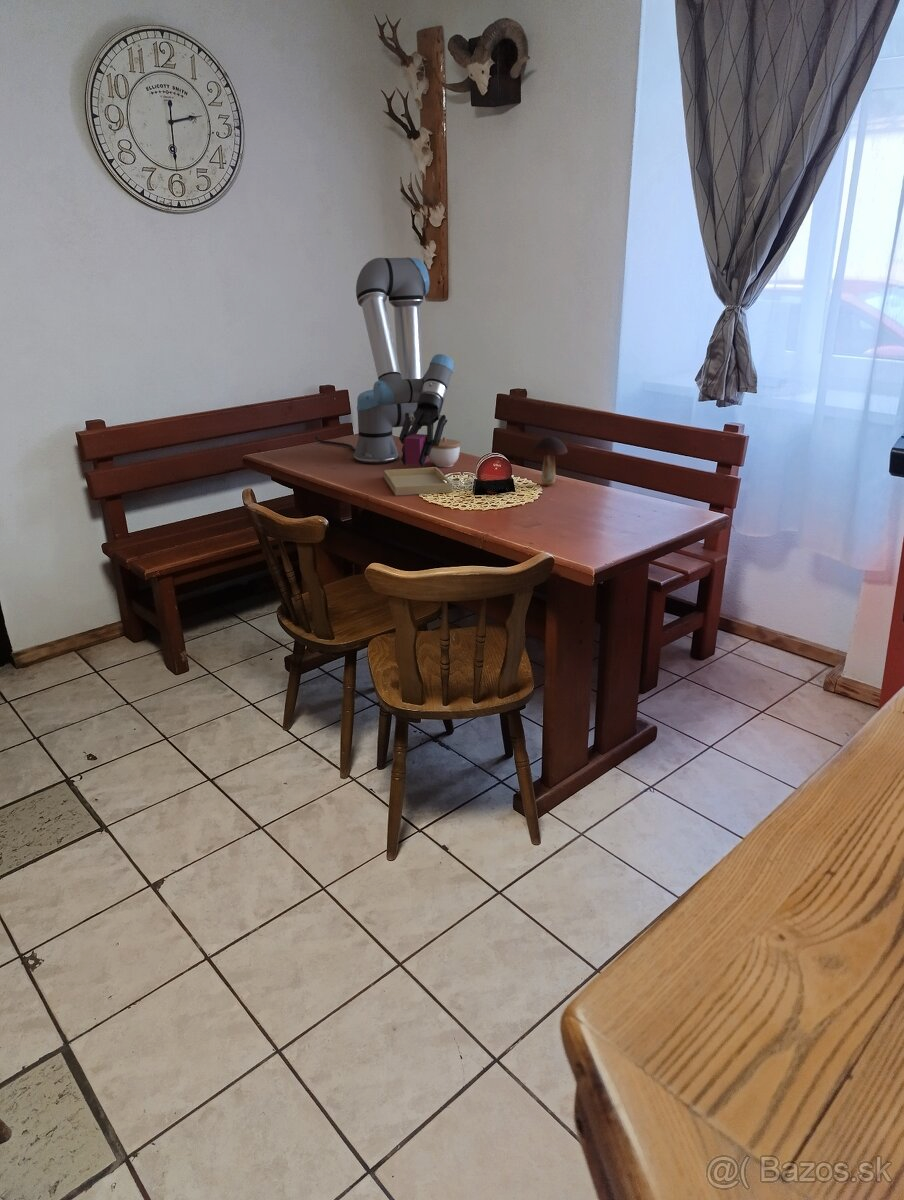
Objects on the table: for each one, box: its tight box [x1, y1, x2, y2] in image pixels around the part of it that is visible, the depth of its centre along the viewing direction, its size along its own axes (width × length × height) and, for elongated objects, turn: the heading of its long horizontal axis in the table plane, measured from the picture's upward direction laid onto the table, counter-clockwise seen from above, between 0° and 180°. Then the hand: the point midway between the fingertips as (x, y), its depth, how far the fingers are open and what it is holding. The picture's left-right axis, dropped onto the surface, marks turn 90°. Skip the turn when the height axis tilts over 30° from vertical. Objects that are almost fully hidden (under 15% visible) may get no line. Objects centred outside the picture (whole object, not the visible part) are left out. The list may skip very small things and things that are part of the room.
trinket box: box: [429, 436, 461, 468], centre depth 272 cm, size 11×11×9 cm
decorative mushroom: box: [531, 436, 569, 487], centre depth 247 cm, size 11×11×15 cm
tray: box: [383, 466, 453, 496], centre depth 250 cm, size 21×17×3 cm
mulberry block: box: [404, 433, 430, 467], centre depth 246 cm, size 7×5×8 cm
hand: (412, 462), depth 244 cm, fingers closed on mulberry block, 5 cm apart
